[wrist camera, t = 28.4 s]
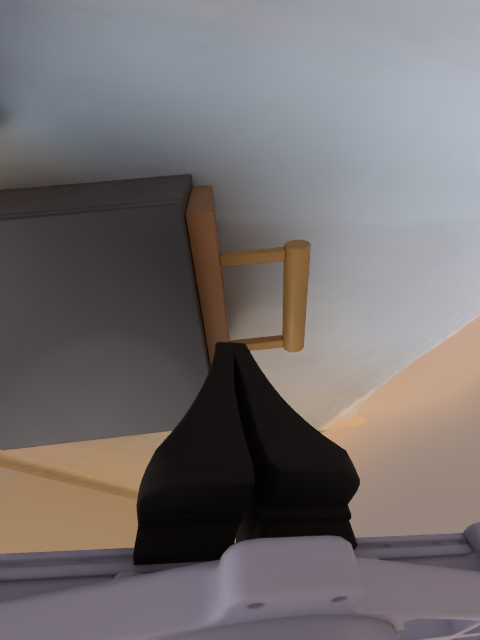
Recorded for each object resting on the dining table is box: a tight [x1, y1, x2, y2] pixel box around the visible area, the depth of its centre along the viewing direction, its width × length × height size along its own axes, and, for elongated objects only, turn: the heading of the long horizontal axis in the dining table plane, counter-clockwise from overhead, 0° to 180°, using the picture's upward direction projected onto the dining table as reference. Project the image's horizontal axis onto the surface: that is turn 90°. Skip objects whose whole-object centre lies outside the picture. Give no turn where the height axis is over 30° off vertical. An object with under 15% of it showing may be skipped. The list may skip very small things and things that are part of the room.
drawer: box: [185, 186, 311, 367], centre depth 18 cm, size 17×12×6 cm
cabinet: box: [0, 174, 210, 450], centre depth 18 cm, size 13×13×8 cm
